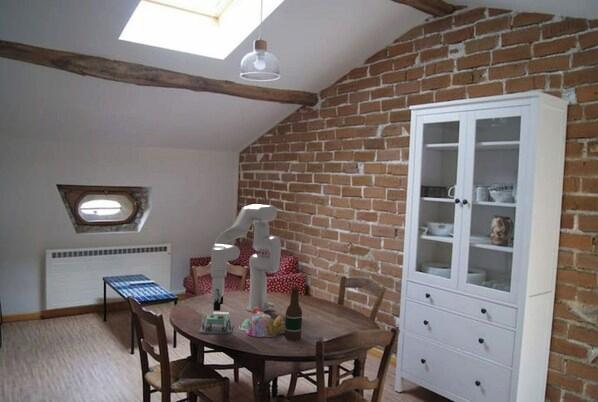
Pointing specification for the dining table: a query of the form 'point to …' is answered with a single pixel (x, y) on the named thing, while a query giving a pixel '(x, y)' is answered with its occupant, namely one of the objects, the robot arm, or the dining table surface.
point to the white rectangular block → (221, 314)
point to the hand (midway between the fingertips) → (218, 307)
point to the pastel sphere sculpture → (262, 325)
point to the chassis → (216, 327)
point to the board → (216, 319)
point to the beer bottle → (293, 317)
